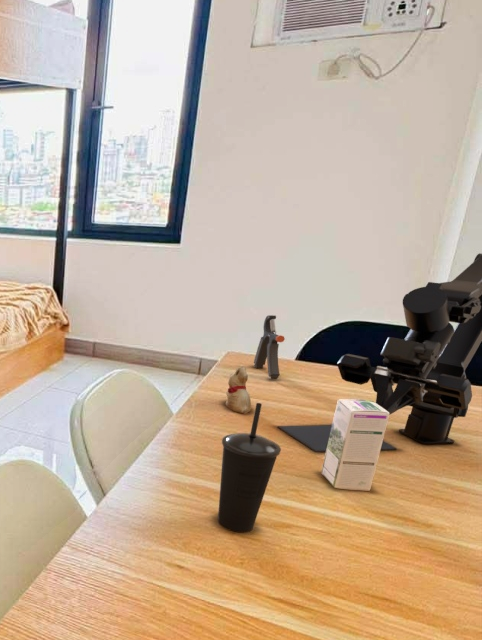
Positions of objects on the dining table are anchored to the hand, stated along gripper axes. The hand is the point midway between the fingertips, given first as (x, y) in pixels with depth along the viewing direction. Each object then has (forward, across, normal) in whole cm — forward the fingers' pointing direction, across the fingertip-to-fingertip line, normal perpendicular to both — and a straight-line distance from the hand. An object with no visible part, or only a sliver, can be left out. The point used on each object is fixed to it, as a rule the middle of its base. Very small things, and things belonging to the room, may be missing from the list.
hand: (376, 418), depth 109 cm
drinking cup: (+32, -3, -17) cm, 37 cm away
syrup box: (+12, 0, +3) cm, 12 cm away
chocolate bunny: (-1, -31, +16) cm, 35 cm away
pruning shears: (-22, -40, +37) cm, 59 cm away
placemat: (-1, -10, +16) cm, 19 cm away
